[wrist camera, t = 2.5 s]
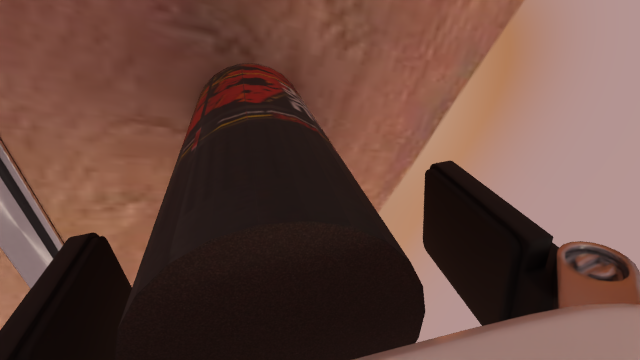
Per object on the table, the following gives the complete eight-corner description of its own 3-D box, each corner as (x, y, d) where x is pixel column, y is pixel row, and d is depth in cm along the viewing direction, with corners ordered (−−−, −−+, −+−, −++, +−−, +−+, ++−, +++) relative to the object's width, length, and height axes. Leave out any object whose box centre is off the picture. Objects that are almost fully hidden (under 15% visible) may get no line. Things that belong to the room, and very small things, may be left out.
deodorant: (318, 88, 20) (479, 260, 7) (280, 176, 22) (347, 437, 9) (215, 44, 18) (164, 175, 5) (183, 146, 20) (85, 435, 7)
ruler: (-159, 21, 14) (-165, 22, 14) (-78, 12, 15) (-82, 12, 14) (80, 354, 25) (79, 356, 25) (124, 342, 25) (123, 345, 25)
